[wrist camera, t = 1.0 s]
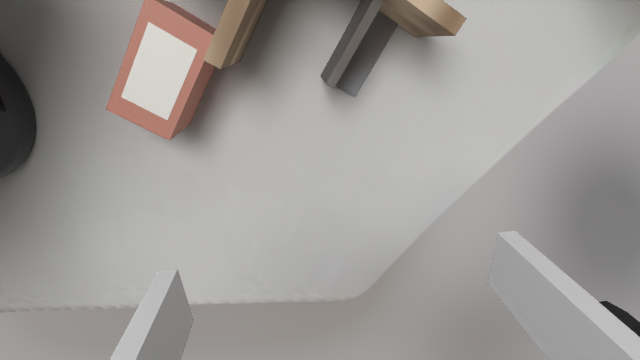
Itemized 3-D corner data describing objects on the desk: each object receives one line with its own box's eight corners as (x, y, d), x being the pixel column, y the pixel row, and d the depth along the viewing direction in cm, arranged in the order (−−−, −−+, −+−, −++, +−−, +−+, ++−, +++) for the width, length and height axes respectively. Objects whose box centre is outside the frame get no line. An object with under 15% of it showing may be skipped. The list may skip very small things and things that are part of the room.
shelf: (226, 55, 29) (203, 59, 21) (283, -76, 25) (278, -123, 18) (357, 129, 32) (375, 155, 25) (423, 24, 29) (466, 18, 22)
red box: (137, 97, 30) (105, 109, 25) (174, 3, 27) (145, -6, 22) (189, 124, 31) (169, 140, 26) (229, 36, 28) (214, 36, 23)
